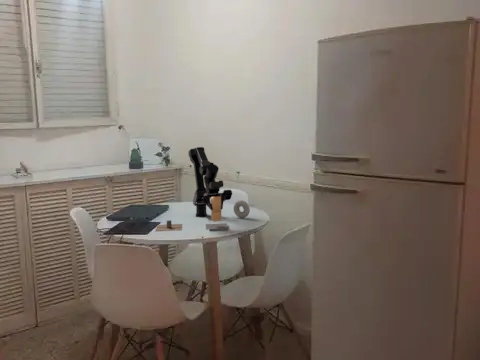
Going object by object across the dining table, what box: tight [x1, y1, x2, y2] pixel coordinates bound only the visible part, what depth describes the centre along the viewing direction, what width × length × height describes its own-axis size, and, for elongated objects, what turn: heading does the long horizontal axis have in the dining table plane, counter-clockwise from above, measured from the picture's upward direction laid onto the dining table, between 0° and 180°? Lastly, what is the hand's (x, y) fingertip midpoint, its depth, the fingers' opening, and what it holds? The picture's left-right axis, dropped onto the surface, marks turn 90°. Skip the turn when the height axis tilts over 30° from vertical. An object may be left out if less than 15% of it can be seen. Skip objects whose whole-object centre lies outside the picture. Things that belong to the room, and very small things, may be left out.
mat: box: [205, 223, 229, 232], centre depth 252 cm, size 11×11×1 cm
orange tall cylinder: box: [210, 196, 222, 222], centre depth 251 cm, size 5×5×12 cm
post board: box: [155, 219, 183, 232], centre depth 251 cm, size 13×13×4 cm
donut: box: [233, 199, 251, 219], centre depth 274 cm, size 10×4×10 cm, turn 59°
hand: (217, 209), depth 250 cm, fingers closed on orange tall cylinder, 5 cm apart
